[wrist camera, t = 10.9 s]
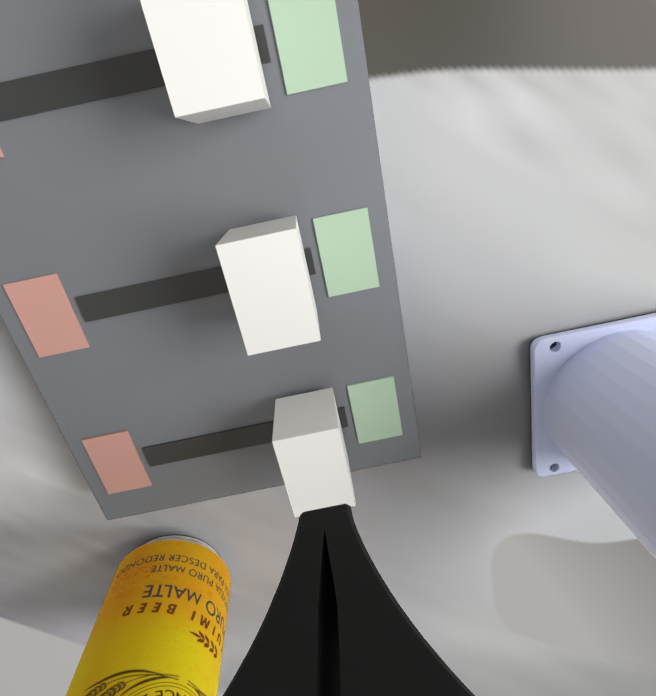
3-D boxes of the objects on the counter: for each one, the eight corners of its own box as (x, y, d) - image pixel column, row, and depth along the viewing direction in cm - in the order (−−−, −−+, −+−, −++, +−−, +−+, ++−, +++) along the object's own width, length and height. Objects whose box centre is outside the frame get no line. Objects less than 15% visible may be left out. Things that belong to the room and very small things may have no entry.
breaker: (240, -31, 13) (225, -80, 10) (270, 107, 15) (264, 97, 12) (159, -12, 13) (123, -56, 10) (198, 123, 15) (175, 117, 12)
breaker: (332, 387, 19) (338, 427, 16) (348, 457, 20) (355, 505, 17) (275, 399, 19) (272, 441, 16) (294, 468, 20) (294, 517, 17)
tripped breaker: (296, 215, 16) (295, 228, 13) (316, 310, 17) (320, 340, 15) (229, 229, 16) (215, 245, 13) (255, 323, 17) (248, 355, 15)
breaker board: (337, -70, 15) (343, -103, 13) (411, 432, 23) (421, 458, 21) (-104, 29, 15) (-162, 12, 13) (122, 491, 23) (106, 521, 21)
